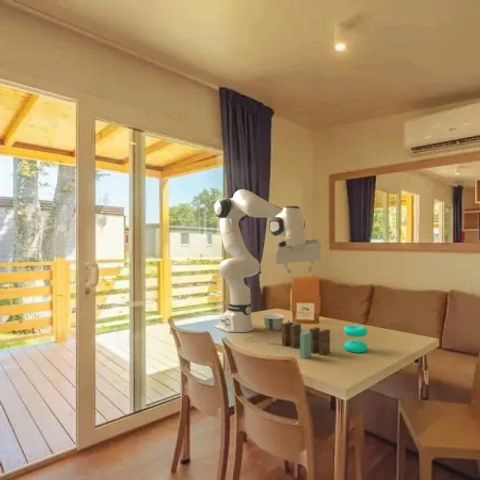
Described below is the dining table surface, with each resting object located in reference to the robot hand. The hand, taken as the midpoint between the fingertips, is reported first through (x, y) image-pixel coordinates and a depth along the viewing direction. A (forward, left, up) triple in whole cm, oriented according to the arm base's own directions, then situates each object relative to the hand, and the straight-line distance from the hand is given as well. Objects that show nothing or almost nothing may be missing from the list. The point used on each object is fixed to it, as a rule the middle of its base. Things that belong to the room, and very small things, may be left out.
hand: (299, 272), depth 165 cm
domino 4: (+7, +1, -34) cm, 35 cm away
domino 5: (+12, +1, -34) cm, 36 cm away
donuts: (+19, +15, -34) cm, 42 cm away
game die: (-14, +14, -34) cm, 40 cm away
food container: (-33, +22, -35) cm, 53 cm away
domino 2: (-3, +1, -34) cm, 34 cm away
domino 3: (+8, -8, -34) cm, 36 cm away
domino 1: (-8, +1, -34) cm, 35 cm away
